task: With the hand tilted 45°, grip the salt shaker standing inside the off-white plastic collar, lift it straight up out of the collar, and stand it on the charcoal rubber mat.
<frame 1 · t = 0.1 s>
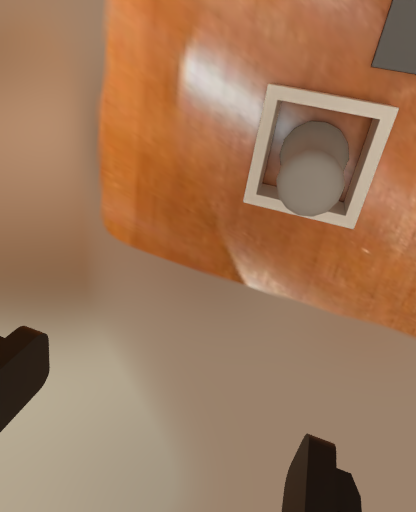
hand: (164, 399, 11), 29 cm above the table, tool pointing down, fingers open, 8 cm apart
collar: (314, 151, 34), on the table
salt shaker: (314, 151, 34), resting in collar
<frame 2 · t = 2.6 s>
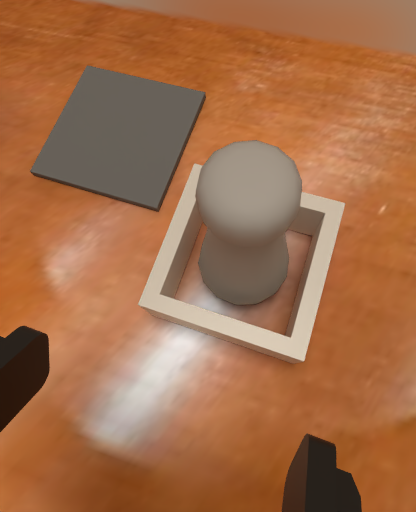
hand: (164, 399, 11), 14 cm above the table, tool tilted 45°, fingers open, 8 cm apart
collar: (242, 270, 26), on the table
mat: (121, 135, 31), on the table
salt shaker: (242, 271, 26), resting in collar
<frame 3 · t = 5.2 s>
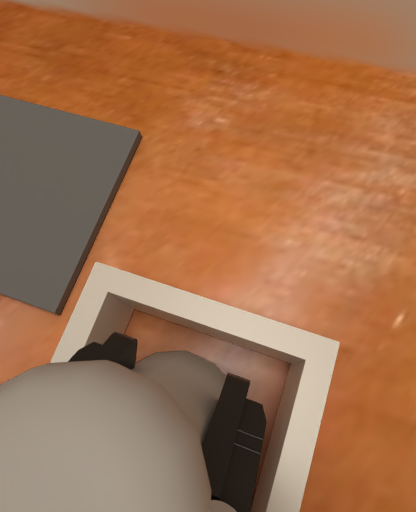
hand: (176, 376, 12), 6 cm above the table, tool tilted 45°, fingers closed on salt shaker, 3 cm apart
collar: (180, 420, 17), on the table
mat: (17, 193, 21), on the table
salt shaker: (181, 419, 17), resting in collar, touching gripper
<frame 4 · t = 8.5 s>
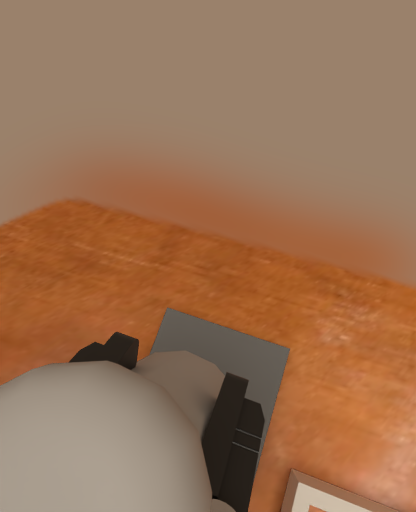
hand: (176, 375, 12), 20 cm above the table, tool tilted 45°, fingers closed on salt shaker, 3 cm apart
mat: (206, 392, 31), on the table
salt shaker: (180, 419, 17), point 14 cm above the table, touching gripper
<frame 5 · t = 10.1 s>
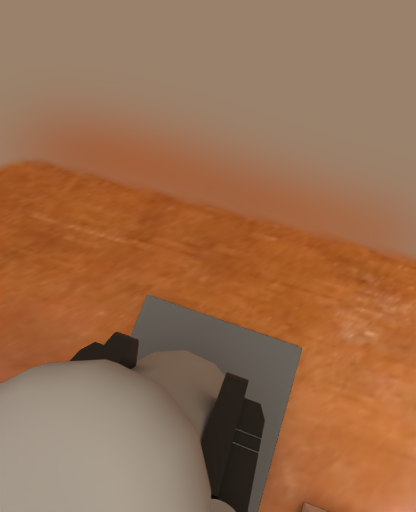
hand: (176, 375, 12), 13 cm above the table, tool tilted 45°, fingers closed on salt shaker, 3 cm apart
mat: (195, 402, 24), on the table
salt shaker: (180, 418, 17), point 7 cm above the table, touching gripper
when the fingers open (8 cm above the table, at t = 11.5 s): salt shaker stays where it is, resting on mat.
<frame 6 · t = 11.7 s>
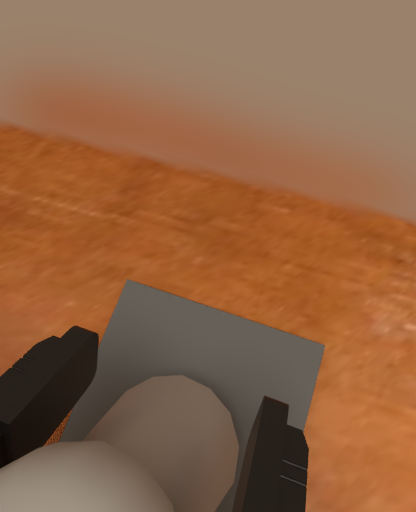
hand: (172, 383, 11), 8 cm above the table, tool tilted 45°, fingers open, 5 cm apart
mat: (187, 415, 19), on the table
salt shaker: (180, 434, 18), point 1 cm above the table, touching mat
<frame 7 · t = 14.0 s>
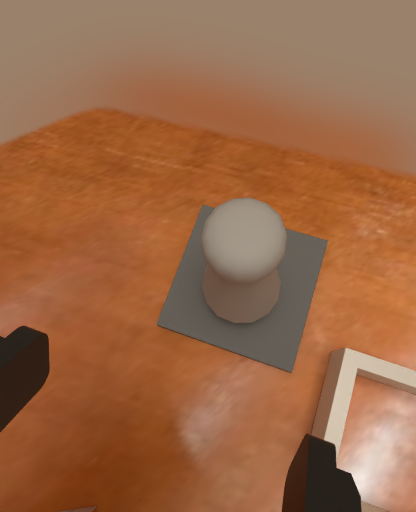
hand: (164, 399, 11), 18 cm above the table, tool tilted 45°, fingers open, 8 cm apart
collar: (384, 444, 26), on the table
mat: (243, 283, 31), on the table
salt shaker: (240, 291, 30), resting on mat
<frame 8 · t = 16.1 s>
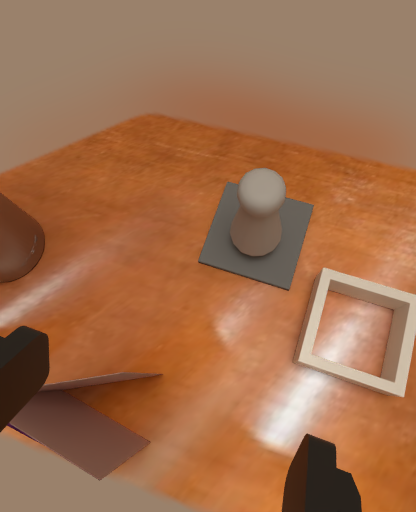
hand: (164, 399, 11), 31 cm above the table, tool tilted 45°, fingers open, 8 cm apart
collar: (349, 332, 40), on the table
mat: (256, 234, 45), on the table
salt shaker: (254, 239, 44), resting on mat
greeting card: (118, 390, 41), on the table
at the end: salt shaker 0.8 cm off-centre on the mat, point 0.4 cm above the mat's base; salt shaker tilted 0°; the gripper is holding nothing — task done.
